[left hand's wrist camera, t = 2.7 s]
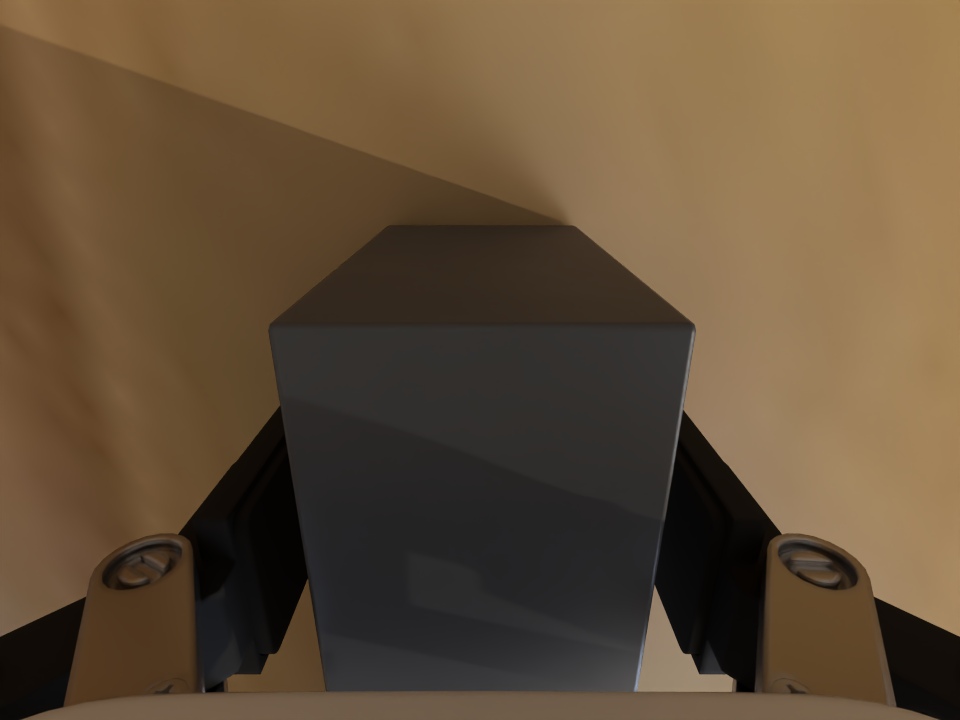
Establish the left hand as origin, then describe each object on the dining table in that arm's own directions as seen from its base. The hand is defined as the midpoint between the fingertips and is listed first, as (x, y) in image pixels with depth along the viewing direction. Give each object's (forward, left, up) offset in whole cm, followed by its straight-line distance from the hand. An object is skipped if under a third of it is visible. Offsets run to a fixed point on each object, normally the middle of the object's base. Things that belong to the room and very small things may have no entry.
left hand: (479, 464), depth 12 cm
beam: (+26, +19, -3) cm, 32 cm away
